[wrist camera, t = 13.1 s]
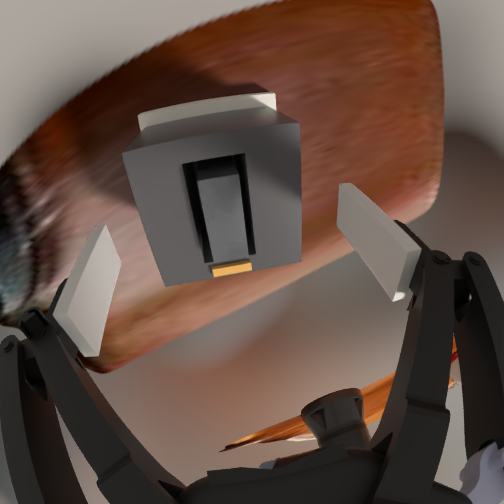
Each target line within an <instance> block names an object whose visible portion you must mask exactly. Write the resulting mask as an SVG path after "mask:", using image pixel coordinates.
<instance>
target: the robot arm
mask: <svg viewBox="0 0 504 504" xmlns="http://www.w3.org/2000/svg"><path fill="white" fill-rule="evenodd" d="M337 227H338V228H339V229H340V231H341V232H342V233H343V235H344V236H345V237H346V238H347V240H348V241H349V242H350V244H351V245H352V246H353V247H354V249H355V250H356V251H357V253H358V254H359V255H360V257H361V258H362V259H363V261H364V262H365V264H366V265H367V266H368V268H369V269H370V270H371V272H372V273H373V274H374V276H375V277H376V279H377V280H378V281H379V283H380V284H381V286H382V287H383V289H384V290H385V291H386V293H387V294H388V296H389V297H390V299H391V300H392V301H396V300H399V299H403V298H405V297H406V295H407V292H408V289H409V288H410V289H411V291H412V292H413V296H412V298H411V301H410V303H409V306H408V308H407V310H408V311H409V315H408V321H407V326H406V331H405V336H404V340H403V345H402V349H401V354H400V358H399V362H398V366H397V369H396V373H395V377H394V380H393V384H392V387H391V390H390V394H389V397H388V400H387V403H386V406H385V409H384V412H383V415H382V418H381V421H380V424H379V426H378V428H377V430H376V432H375V434H374V435H373V437H372V439H371V437H370V434H369V432H368V429H367V427H366V424H365V421H364V405H363V396H362V394H361V391H360V390H359V389H357V388H349V389H343V390H339V391H336V392H333V393H330V394H328V395H325V396H323V397H320V398H318V399H316V400H314V401H313V402H311V403H309V404H308V405H306V406H305V407H304V408H303V409H302V411H301V415H302V418H303V421H304V423H305V424H306V425H307V427H308V428H309V429H310V430H311V432H312V433H313V434H314V436H315V437H316V439H317V441H318V445H319V448H318V449H315V450H311V451H308V452H304V453H301V454H296V455H292V456H288V457H283V458H277V459H275V460H271V461H268V462H264V463H262V464H261V465H260V466H259V468H258V469H257V468H243V467H239V468H231V469H222V470H212V471H207V475H208V476H207V477H204V478H201V479H199V480H197V481H195V482H194V483H192V484H190V485H189V486H188V487H186V486H185V485H184V484H182V482H180V481H179V480H178V479H177V478H176V477H174V476H173V475H171V474H170V473H169V472H168V471H166V470H165V469H164V468H163V467H162V466H161V465H160V464H159V463H158V462H157V461H156V460H155V459H154V458H153V456H152V455H151V454H150V453H149V452H148V451H147V450H146V449H145V448H144V447H143V445H142V444H141V443H140V442H139V441H138V440H137V438H136V437H135V436H134V435H133V434H132V433H131V431H130V430H129V429H128V428H127V426H126V425H125V424H124V423H123V421H122V420H121V419H120V418H119V417H118V415H117V414H116V413H115V411H114V410H113V408H112V407H111V406H110V404H109V403H108V402H107V400H106V399H105V397H104V396H103V394H102V393H101V392H100V390H99V389H98V387H97V386H96V384H95V383H94V381H93V380H92V378H91V377H90V375H89V373H88V372H87V370H86V369H85V367H84V365H83V364H82V362H81V360H80V359H79V358H78V357H77V352H78V349H79V350H80V351H81V353H82V354H83V355H84V356H85V357H88V356H99V351H100V346H101V341H102V337H103V332H104V328H105V323H106V319H107V315H108V311H109V307H110V303H111V299H112V295H113V292H114V288H115V284H116V281H117V277H118V274H119V271H120V267H121V264H122V263H121V261H120V258H119V256H118V254H117V251H116V249H115V246H114V244H113V241H112V239H111V236H110V234H109V231H108V229H107V226H106V224H104V225H100V226H95V227H94V228H93V230H92V232H91V234H90V235H89V237H88V239H87V241H86V243H85V245H84V247H83V249H82V251H81V253H80V255H79V257H78V259H77V261H76V263H75V265H74V267H73V269H72V271H71V273H70V275H69V278H66V279H65V280H64V281H63V282H62V283H61V284H60V286H59V287H58V289H57V292H56V295H55V296H54V298H53V302H52V303H51V305H50V308H49V310H48V313H47V315H46V316H45V315H44V314H43V312H42V311H41V309H40V308H39V307H32V308H30V309H28V310H26V311H25V312H24V313H23V315H22V316H21V318H20V320H19V322H18V327H19V328H20V329H21V331H22V332H23V333H24V334H25V336H26V337H27V339H25V340H22V341H19V340H18V339H17V337H16V336H15V335H9V336H7V337H6V338H5V339H4V340H3V341H2V342H1V344H0V420H1V429H2V436H3V442H4V448H5V454H6V458H7V464H8V468H9V473H10V476H11V481H12V484H13V488H14V491H15V495H16V498H17V501H18V504H88V503H87V500H86V498H85V496H84V494H83V491H82V489H81V487H80V484H79V482H78V479H77V477H76V475H75V472H74V469H73V467H72V463H71V461H70V458H69V455H68V452H67V449H66V445H65V442H64V439H63V436H62V432H61V428H60V425H59V421H58V417H57V413H56V409H55V405H56V407H57V409H58V411H59V413H60V415H61V417H62V419H63V421H64V423H65V424H66V426H67V428H68V430H69V432H70V433H71V435H72V437H73V439H74V440H75V442H76V444H77V445H78V447H79V449H80V450H81V452H82V453H83V455H84V457H85V458H86V460H87V461H88V463H89V464H90V465H91V467H92V468H93V470H94V471H95V472H96V474H97V476H98V480H97V482H96V483H97V486H98V488H99V490H100V491H101V492H102V494H103V495H104V497H105V498H106V499H107V500H108V502H109V503H110V504H499V503H500V502H501V501H502V500H504V302H503V299H502V297H501V294H500V292H499V289H498V287H497V285H496V282H495V280H494V278H493V276H492V273H491V271H490V269H489V267H488V265H487V263H486V261H485V260H484V258H483V257H482V256H481V255H479V254H477V253H475V252H466V253H465V254H464V256H463V259H462V260H452V259H451V258H450V257H449V256H448V255H447V254H445V253H444V252H441V251H438V250H432V251H431V250H430V249H429V248H428V247H427V246H426V245H425V244H424V243H423V242H422V241H421V240H420V239H419V238H418V237H417V236H416V235H415V234H414V233H413V232H411V230H410V229H409V228H408V227H407V226H406V225H405V224H403V223H401V222H399V221H398V220H392V219H391V218H390V217H389V216H388V215H387V214H386V213H385V212H384V211H383V210H381V209H380V208H379V207H378V206H377V205H376V204H375V203H374V202H373V201H371V200H370V199H369V198H368V197H367V196H366V195H365V194H364V193H362V192H361V191H360V190H359V189H358V188H357V187H355V186H354V185H353V184H352V183H344V184H339V198H338V213H337ZM453 332H454V337H455V342H456V348H457V354H458V360H459V367H460V375H461V384H462V394H463V406H464V431H465V432H464V433H465V447H466V455H467V460H468V461H467V463H466V465H465V467H464V468H463V469H462V471H461V472H460V480H461V481H462V482H463V485H462V488H461V490H460V491H457V490H454V489H452V488H450V487H447V486H445V485H442V484H440V483H438V482H435V481H434V478H435V475H436V472H437V469H438V465H439V462H440V459H441V455H442V451H443V448H444V444H445V440H446V436H447V431H448V427H449V422H450V411H449V410H448V409H446V407H445V402H446V397H447V391H448V384H449V377H450V369H451V359H452V348H453ZM54 403H55V404H54Z"/></svg>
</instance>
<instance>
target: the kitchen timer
mask: <svg viewBox="0 0 504 504" xmlns="http://www.w3.org/2000/svg"><path fill="white" fill-rule="evenodd" d="M450 379H451V380H452V382H453V383H455V382H457V383H458V384H461V375H460V367H459V360H458V354H457V353H456V354H454V355H453V356H452V359H451V369H450ZM461 385H462V384H461Z"/></svg>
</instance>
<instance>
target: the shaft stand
mask: <svg viewBox="0 0 504 504" xmlns="http://www.w3.org/2000/svg"><path fill="white" fill-rule="evenodd" d="M266 106H269V107H271V108H273V109H275V110H276V99H275V93H272V92H264V93H252V94H243V95H234V96H226V97H219V98H212V99H206V100H200V101H194V102H188V103H183V104H178V105H173V106H168V107H164V108H160V109H155V110H151V111H147V112H143V113H141V114H139V115H138V121H139V126H140V130H141V131H142V130H143V129H144V128H145V127H148V126H152V125H156V124H161V123H165V122H169V121H174V120H179V119H184V118H189V117H194V116H200V115H205V114H211V113H218V112H224V111H231V110H239V109H247V108H256V107H266ZM192 164H193V169H194V174H195V179H196V185H197V190H198V194H199V199H200V204H201V209H202V210H203V213H204V218H205V223H206V228H207V232H208V237H209V242H210V247H211V251H212V256H213V260H214V263H216V262H222V261H228V260H233V259H239V258H244V257H249V254H248V246H247V238H246V230H245V222H244V213H243V205H242V197H241V188H240V180H239V173H238V171H237V168H236V165H235V158H234V155H228V156H222V157H216V158H210V159H205V160H199V161H194V162H192Z"/></svg>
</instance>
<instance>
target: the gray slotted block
mask: <svg viewBox="0 0 504 504" xmlns="http://www.w3.org/2000/svg"><path fill="white" fill-rule="evenodd" d="M228 155H234V158H235V165H236V168H237V171H238V173H239V180H240V188H241V197H242V205H243V213H244V222H245V230H246V238H247V246H248V254H249V257H244V258H239V259H233V260H228V261H222V262H216V263H214V260H213V256H212V251H211V247H210V242H209V237H208V232H207V228H206V223H205V218H204V213H203V210H202V209H201V204H200V199H199V194H198V190H197V185H196V179H195V174H194V169H193V164H192V162H194V161H199V160H205V159H210V158H216V157H222V156H228ZM122 157H123V161H124V164H125V168H126V172H127V175H128V179H129V182H130V186H131V189H132V192H133V196H134V199H135V202H136V205H137V209H138V212H139V215H140V218H141V221H142V224H143V227H144V230H145V233H146V236H147V239H148V242H149V244H150V247H151V250H152V253H153V256H154V258H155V261H156V264H157V266H158V269H159V272H160V274H161V277H162V279H163V282H164V284H165V287H167V286H173V285H178V284H184V283H190V282H196V281H201V280H207V279H213V278H218V277H224V276H229V275H235V274H240V273H246V272H251V271H256V270H262V269H267V268H272V267H277V266H283V265H288V264H293V263H298V262H301V242H302V198H301V151H300V125H299V122H297V121H295V120H294V119H292V118H290V117H288V116H286V115H284V114H282V113H280V112H278V111H276V110H275V109H273V108H271V107H269V106H266V107H256V108H247V109H239V110H231V111H224V112H218V113H211V114H205V115H200V116H194V117H189V118H184V119H179V120H174V121H169V122H165V123H161V124H156V125H152V126H148V127H145V128H144V129H143V130H142V131H141V132H140V133H139V134H138V136H137V137H136V138H135V139H134V140H133V141H132V142H131V143H130V144H129V145H128V146H127V148H126V149H125V150H124V151H123V152H122Z"/></svg>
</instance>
